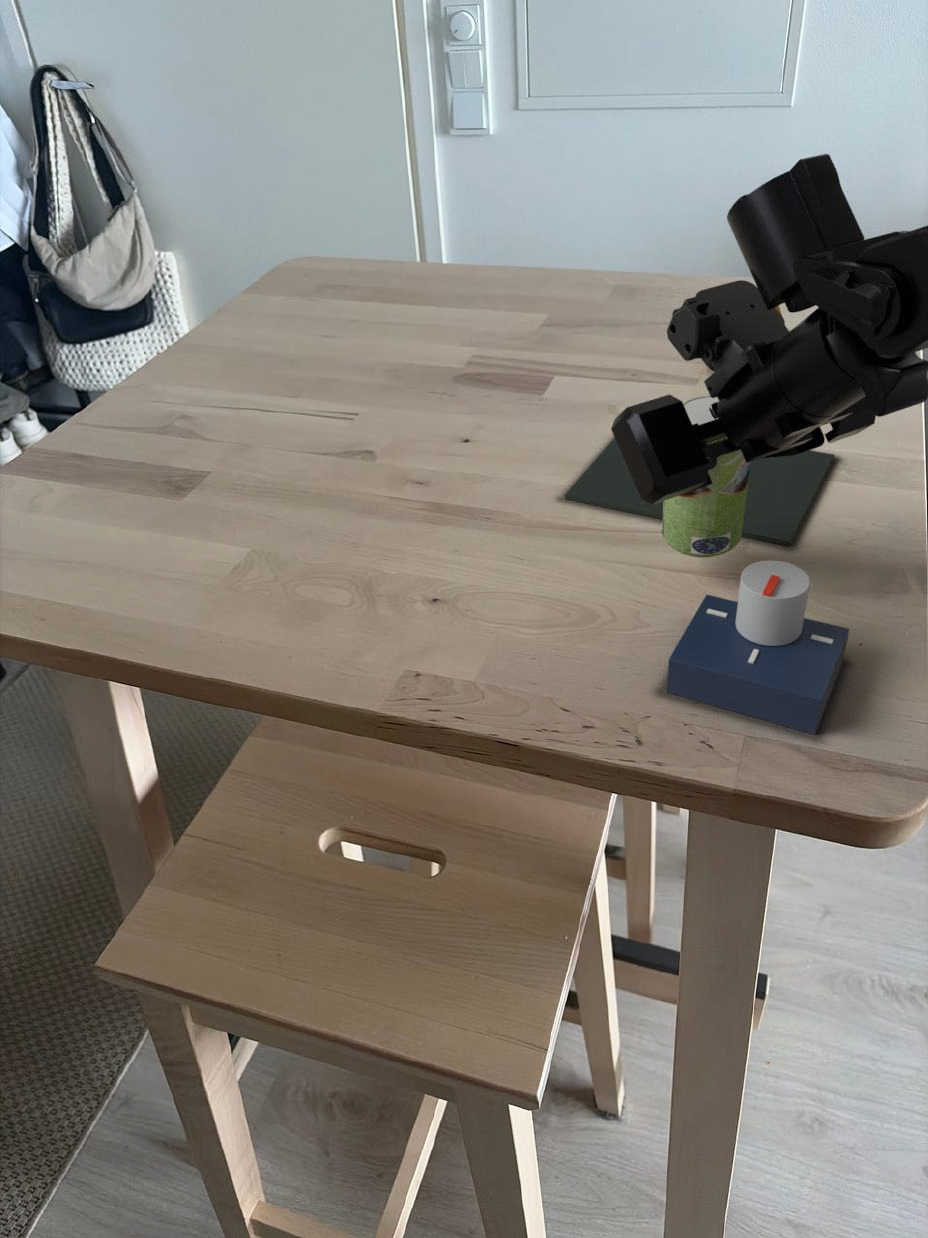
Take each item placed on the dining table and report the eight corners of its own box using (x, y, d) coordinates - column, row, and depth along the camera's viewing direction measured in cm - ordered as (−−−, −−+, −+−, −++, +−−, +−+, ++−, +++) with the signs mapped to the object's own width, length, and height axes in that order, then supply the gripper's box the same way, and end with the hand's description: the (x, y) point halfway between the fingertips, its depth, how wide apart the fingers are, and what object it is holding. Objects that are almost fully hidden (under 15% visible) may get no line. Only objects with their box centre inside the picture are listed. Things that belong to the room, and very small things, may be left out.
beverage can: (736, 524, 80) (754, 383, 73) (745, 575, 74) (765, 426, 67) (656, 523, 81) (667, 383, 74) (659, 573, 75) (670, 425, 68)
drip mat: (833, 459, 92) (834, 454, 92) (789, 546, 81) (790, 541, 81) (630, 423, 100) (630, 419, 100) (565, 499, 90) (564, 494, 89)
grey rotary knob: (745, 601, 71) (752, 550, 68) (808, 616, 69) (817, 564, 66) (727, 636, 68) (733, 585, 65) (792, 653, 66) (801, 600, 63)
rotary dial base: (849, 643, 71) (857, 608, 69) (815, 735, 64) (822, 698, 62) (712, 609, 75) (716, 575, 73) (666, 692, 68) (668, 656, 66)
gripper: (875, 224, 64) (744, 339, 78) (632, 286, 57) (539, 399, 72) (948, 380, 62) (801, 468, 77) (709, 461, 56) (599, 539, 71)
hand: (688, 465), depth 74 cm, fingers closed on beverage can, 6 cm apart
